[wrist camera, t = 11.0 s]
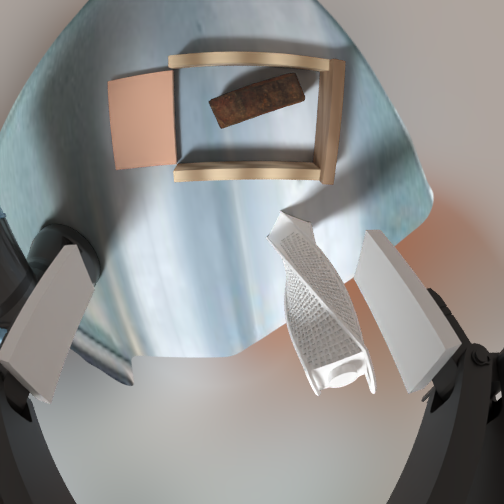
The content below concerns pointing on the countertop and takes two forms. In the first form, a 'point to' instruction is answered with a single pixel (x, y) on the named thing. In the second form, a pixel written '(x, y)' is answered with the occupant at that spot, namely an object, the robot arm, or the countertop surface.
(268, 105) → the brick
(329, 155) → the channel
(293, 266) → the skyscraper
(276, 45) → the countertop surface
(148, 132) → the tile
